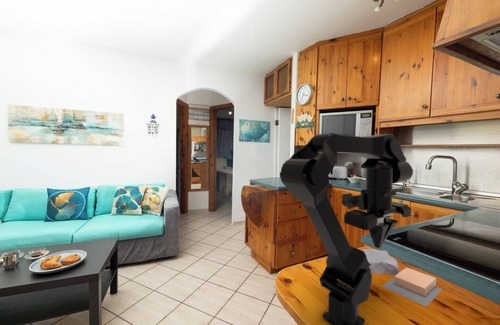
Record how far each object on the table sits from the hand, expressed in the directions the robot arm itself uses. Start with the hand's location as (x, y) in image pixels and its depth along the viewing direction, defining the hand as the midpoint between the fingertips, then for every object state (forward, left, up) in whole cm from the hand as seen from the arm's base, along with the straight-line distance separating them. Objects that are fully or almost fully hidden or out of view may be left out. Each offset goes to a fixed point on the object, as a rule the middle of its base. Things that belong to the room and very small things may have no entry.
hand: (377, 247), depth 56 cm
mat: (+11, -3, -13) cm, 18 cm away
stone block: (+16, +9, -14) cm, 23 cm away
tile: (+9, -3, -12) cm, 15 cm away
